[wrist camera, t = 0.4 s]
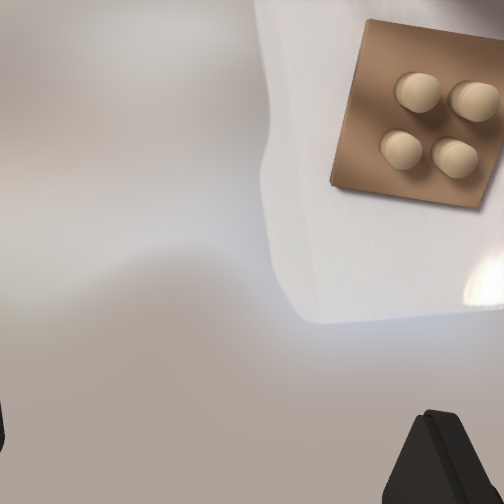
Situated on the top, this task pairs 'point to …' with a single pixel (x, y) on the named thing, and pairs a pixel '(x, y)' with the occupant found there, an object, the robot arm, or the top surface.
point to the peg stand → (422, 115)
